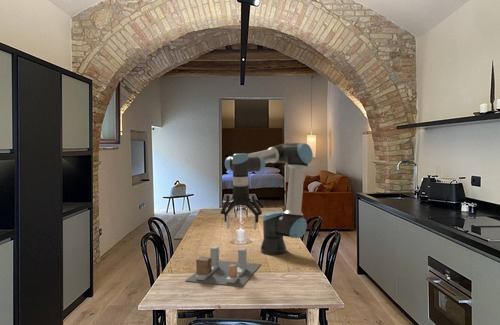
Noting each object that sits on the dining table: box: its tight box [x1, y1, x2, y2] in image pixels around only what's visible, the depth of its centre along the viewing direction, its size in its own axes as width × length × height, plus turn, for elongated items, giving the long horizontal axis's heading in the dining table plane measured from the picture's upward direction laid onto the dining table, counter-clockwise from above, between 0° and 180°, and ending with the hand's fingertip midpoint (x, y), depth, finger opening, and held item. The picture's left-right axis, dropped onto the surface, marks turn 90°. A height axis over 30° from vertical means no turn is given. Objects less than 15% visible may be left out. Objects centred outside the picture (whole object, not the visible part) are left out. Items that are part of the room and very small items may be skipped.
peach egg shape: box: [229, 264, 237, 278], centre depth 173 cm, size 4×4×5 cm
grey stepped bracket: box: [196, 245, 220, 280], centre depth 183 cm, size 20×4×10 cm, turn 163°
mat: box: [185, 260, 262, 288], centre depth 185 cm, size 32×28×1 cm
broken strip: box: [226, 247, 248, 283], centre depth 179 cm, size 20×4×10 cm, turn 163°
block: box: [195, 256, 212, 275], centre depth 179 cm, size 6×6×7 cm
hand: (241, 228), depth 181 cm, fingers open, 13 cm apart
